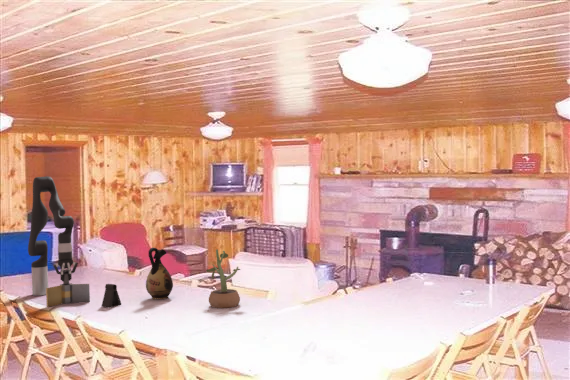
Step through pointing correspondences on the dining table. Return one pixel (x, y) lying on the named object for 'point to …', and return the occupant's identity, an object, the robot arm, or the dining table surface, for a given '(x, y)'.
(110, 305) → the phone stand
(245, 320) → the dining table surface
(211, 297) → the potted plant
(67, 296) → the hinge
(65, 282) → the hinge pin
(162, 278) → the ceramic jug
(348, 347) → the dining table surface
